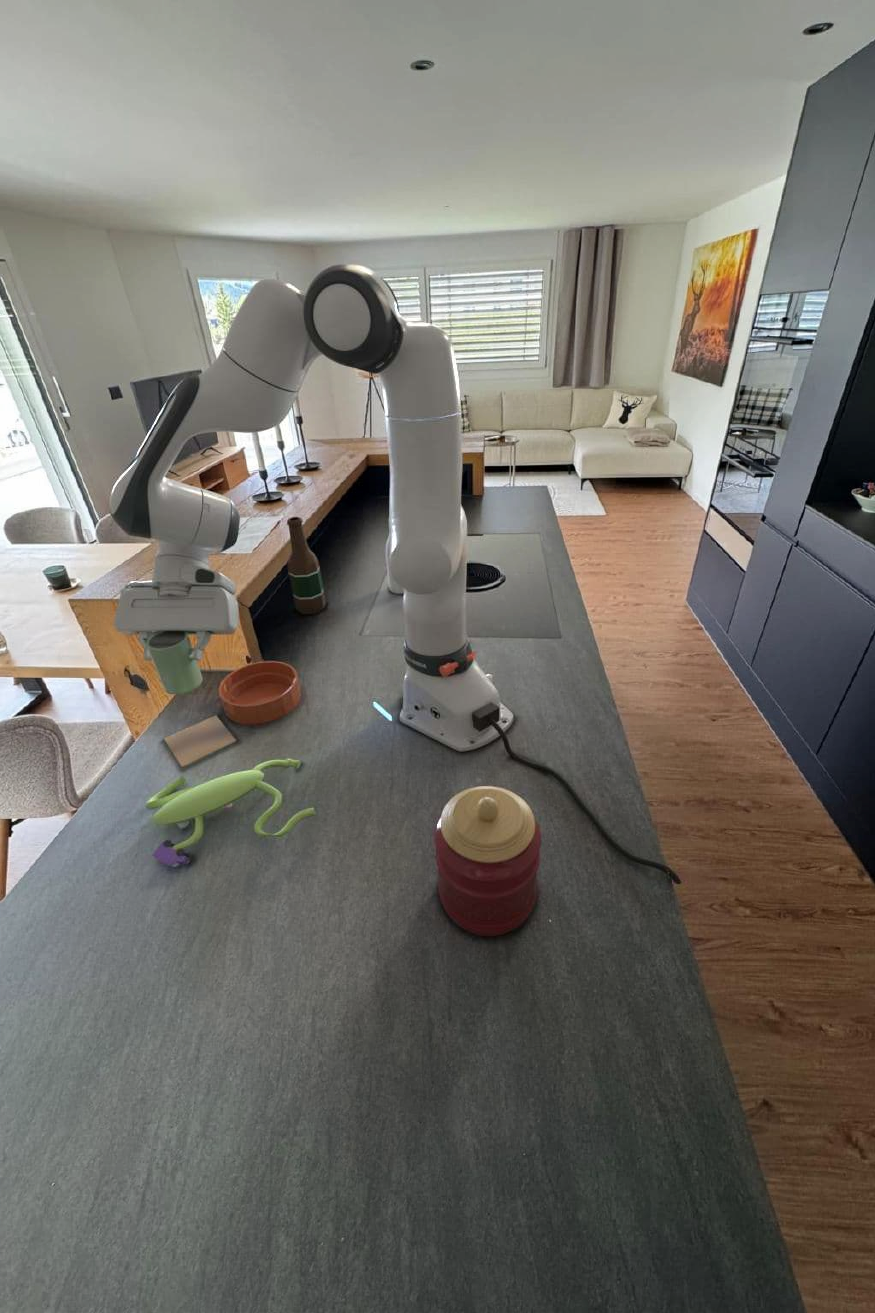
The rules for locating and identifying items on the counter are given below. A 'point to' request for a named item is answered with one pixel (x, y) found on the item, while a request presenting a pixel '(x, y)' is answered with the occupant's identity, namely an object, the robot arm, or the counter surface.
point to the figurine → (214, 806)
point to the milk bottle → (392, 583)
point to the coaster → (199, 740)
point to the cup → (174, 661)
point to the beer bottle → (304, 572)
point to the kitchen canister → (487, 860)
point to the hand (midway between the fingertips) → (172, 660)
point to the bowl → (260, 692)
